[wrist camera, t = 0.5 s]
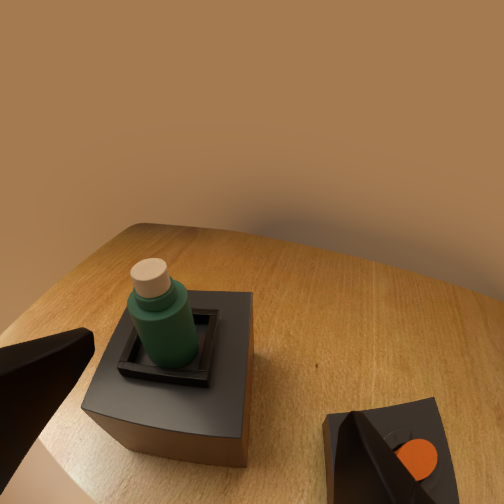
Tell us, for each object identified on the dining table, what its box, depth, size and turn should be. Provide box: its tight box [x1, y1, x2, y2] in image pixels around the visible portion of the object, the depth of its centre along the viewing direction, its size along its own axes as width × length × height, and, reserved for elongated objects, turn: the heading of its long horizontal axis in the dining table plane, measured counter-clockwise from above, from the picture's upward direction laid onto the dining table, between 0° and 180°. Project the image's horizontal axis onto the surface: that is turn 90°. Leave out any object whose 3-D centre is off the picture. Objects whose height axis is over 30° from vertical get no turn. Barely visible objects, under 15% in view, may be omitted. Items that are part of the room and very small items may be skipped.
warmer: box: [81, 290, 254, 468], centre depth 19 cm, size 12×10×9 cm
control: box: [322, 397, 459, 504], centre depth 13 cm, size 12×10×4 cm
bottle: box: [127, 258, 199, 369], centre depth 16 cm, size 4×4×6 cm
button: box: [394, 439, 437, 482], centre depth 12 cm, size 3×3×2 cm
